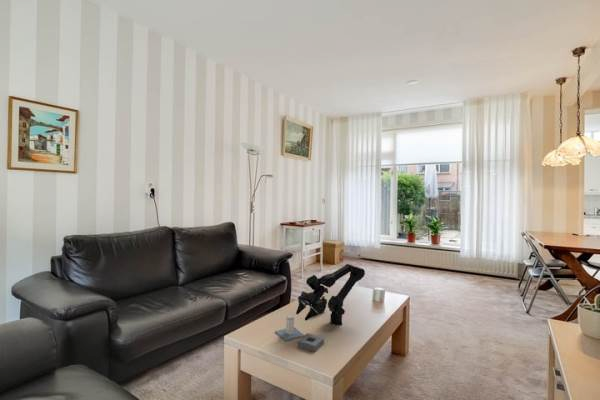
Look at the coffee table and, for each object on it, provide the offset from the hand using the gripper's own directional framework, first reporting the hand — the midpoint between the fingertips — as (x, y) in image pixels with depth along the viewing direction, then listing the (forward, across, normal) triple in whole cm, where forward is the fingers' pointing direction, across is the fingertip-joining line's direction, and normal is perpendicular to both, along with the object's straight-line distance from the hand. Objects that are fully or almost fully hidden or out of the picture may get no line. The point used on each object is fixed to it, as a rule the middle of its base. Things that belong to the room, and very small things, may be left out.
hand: (300, 316), depth 170 cm
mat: (+11, 0, +1) cm, 11 cm away
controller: (-12, -17, +24) cm, 32 cm away
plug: (+10, 0, 0) cm, 10 cm away
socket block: (+8, +16, +3) cm, 18 cm away
